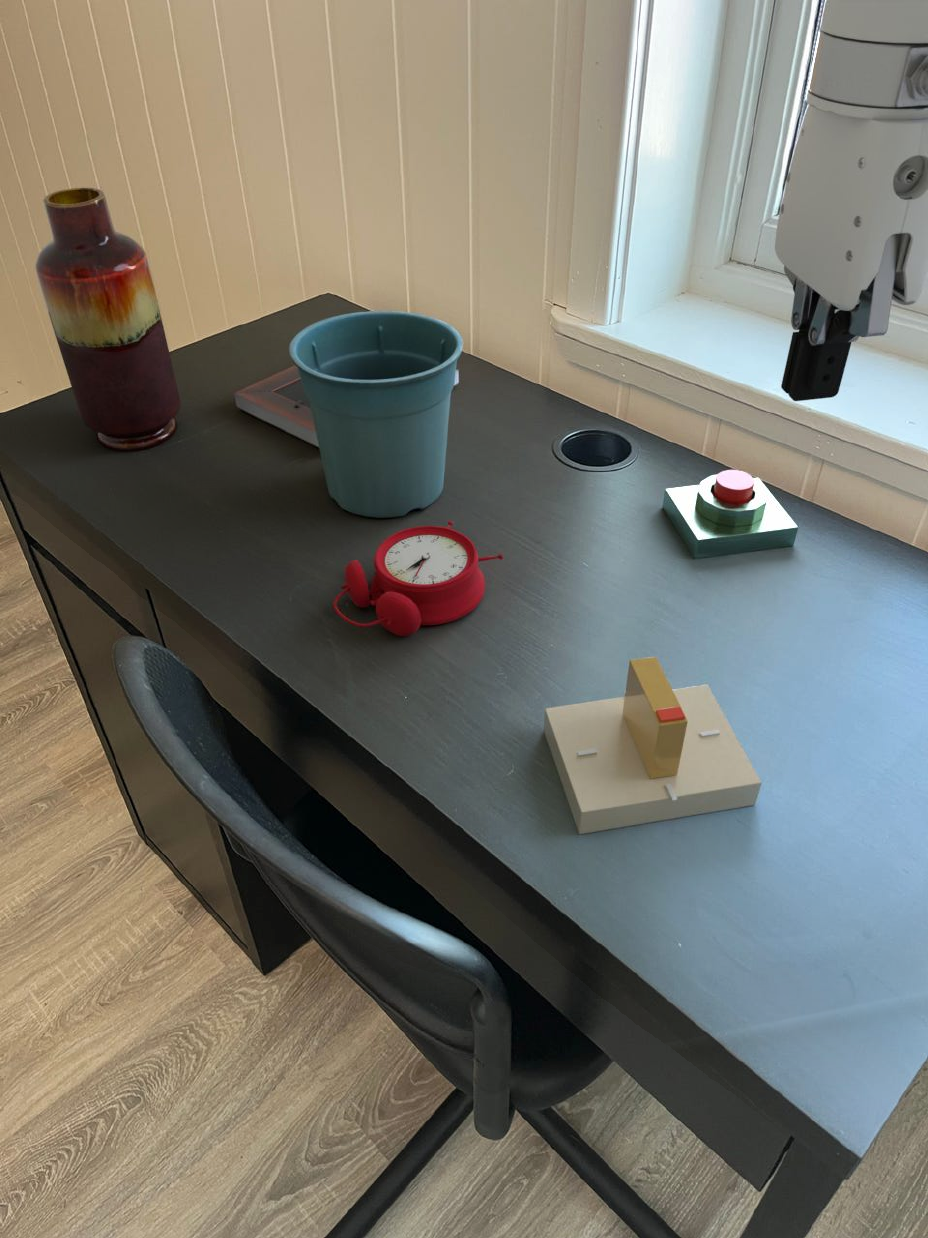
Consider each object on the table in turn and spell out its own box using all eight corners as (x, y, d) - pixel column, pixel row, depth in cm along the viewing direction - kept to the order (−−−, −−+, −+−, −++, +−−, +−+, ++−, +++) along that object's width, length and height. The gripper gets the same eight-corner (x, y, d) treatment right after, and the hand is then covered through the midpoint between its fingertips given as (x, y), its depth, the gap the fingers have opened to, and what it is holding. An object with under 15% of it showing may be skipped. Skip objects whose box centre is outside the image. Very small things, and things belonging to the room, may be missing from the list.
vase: (168, 400, 116) (113, 172, 99) (199, 438, 108) (146, 200, 91) (77, 425, 111) (3, 191, 94) (103, 466, 104) (28, 221, 87)
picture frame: (366, 350, 126) (237, 410, 113) (364, 332, 124) (233, 390, 112) (459, 386, 117) (330, 455, 105) (458, 367, 116) (327, 435, 103)
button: (742, 483, 93) (745, 467, 92) (757, 502, 90) (761, 487, 89) (707, 487, 92) (710, 471, 91) (721, 507, 90) (724, 491, 88)
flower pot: (395, 432, 109) (385, 295, 98) (497, 486, 100) (498, 341, 89) (278, 488, 100) (254, 343, 90) (378, 552, 91) (364, 400, 81)
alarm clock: (518, 555, 84) (385, 596, 75) (506, 614, 87) (377, 660, 78) (443, 507, 90) (311, 539, 81) (434, 564, 93) (306, 601, 84)
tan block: (622, 713, 71) (629, 657, 67) (647, 709, 71) (656, 653, 67) (650, 779, 66) (659, 722, 62) (677, 775, 66) (688, 718, 62)
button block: (754, 495, 98) (762, 462, 95) (793, 545, 91) (802, 511, 88) (662, 507, 96) (667, 473, 94) (694, 558, 89) (701, 523, 87)
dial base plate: (701, 703, 75) (706, 679, 73) (757, 809, 67) (764, 785, 65) (542, 727, 73) (543, 703, 72) (580, 839, 65) (583, 815, 64)
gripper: (1042, 100, 44) (924, 444, 56) (878, 43, 56) (809, 340, 67) (894, 110, 43) (807, 458, 55) (758, 50, 55) (709, 350, 66)
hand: (808, 392), depth 61 cm, fingers closed
